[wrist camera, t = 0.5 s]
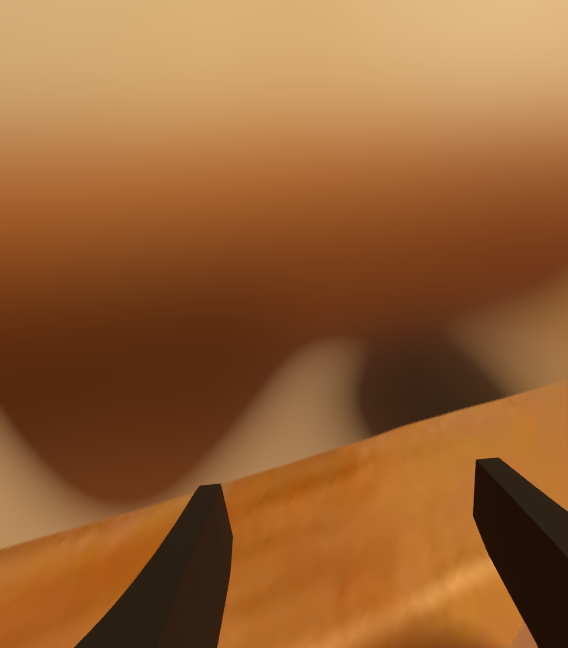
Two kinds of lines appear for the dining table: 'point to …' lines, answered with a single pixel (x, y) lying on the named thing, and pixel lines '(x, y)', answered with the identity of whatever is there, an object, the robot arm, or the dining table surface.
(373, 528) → the dining table surface
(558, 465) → the dining table surface
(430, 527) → the dining table surface
